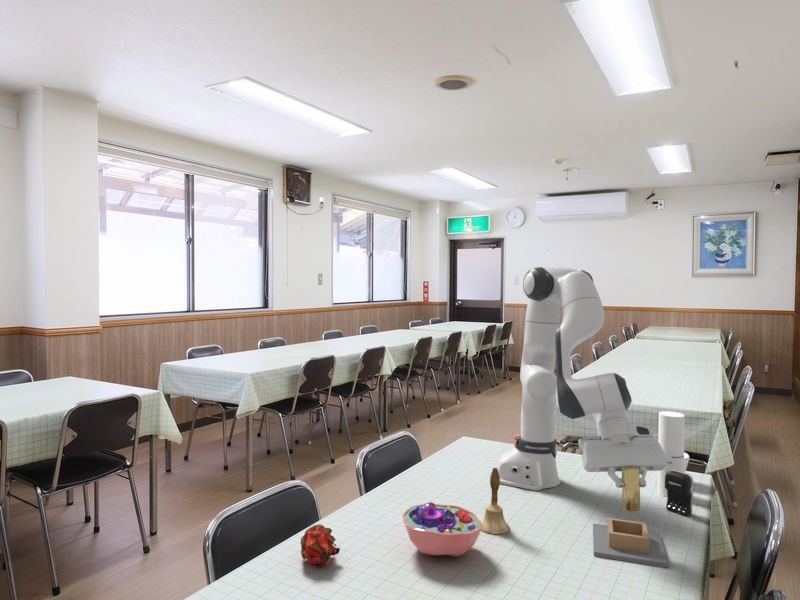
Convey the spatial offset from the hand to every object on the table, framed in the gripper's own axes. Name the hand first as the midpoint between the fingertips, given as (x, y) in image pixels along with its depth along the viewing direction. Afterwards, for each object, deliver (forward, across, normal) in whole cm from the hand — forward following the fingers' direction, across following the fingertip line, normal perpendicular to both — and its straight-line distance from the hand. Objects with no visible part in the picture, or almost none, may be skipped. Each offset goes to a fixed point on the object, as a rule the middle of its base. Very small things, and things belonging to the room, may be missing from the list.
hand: (631, 486), depth 131 cm
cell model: (+13, -48, +6) cm, 50 cm away
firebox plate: (+10, -1, +11) cm, 15 cm away
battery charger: (-4, +20, +27) cm, 34 cm away
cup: (-21, +30, +44) cm, 57 cm away
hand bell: (+4, -33, +16) cm, 37 cm away
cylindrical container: (-13, +24, +36) cm, 46 cm away
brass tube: (+4, 0, +4) cm, 6 cm away
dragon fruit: (+16, -76, +1) cm, 78 cm away
